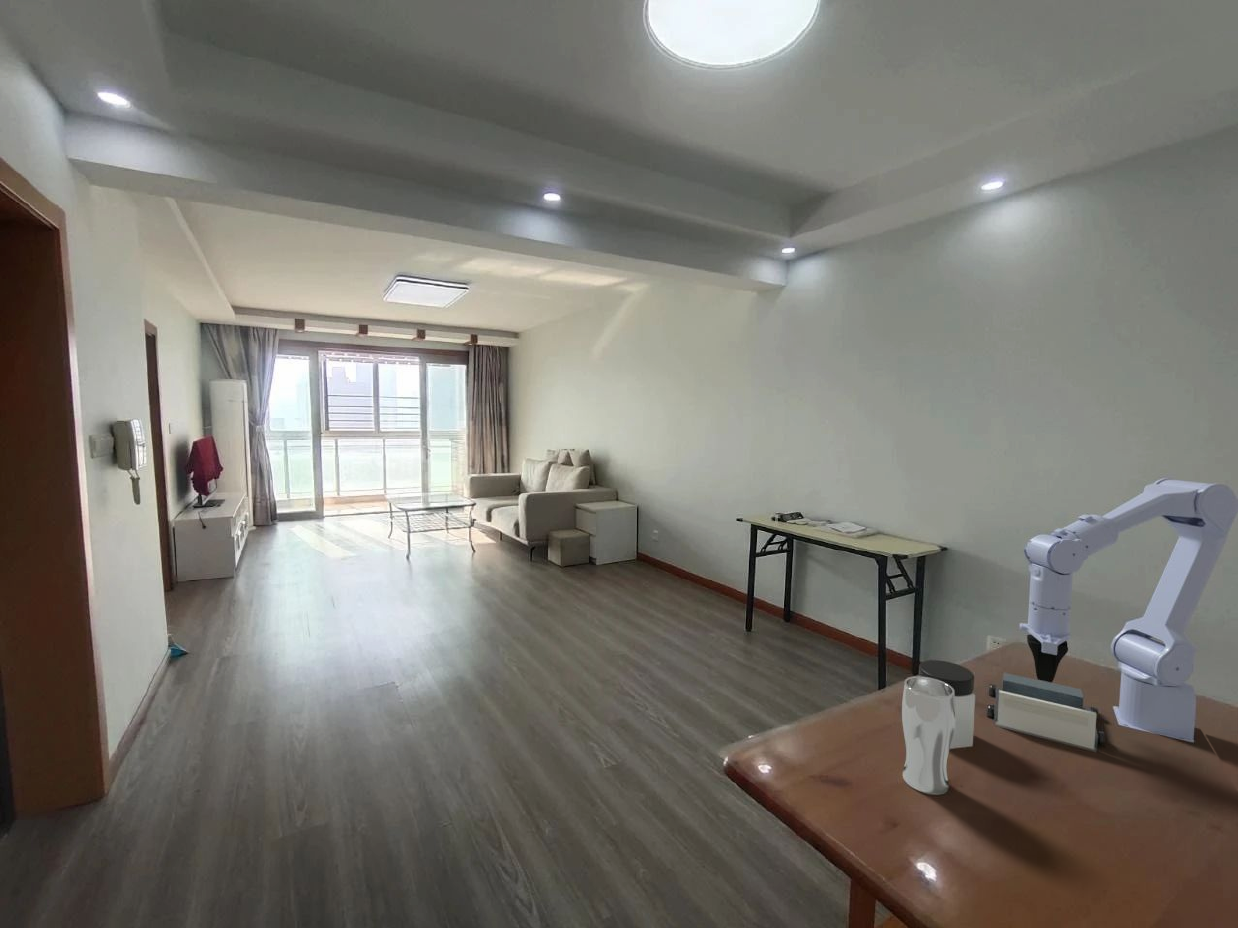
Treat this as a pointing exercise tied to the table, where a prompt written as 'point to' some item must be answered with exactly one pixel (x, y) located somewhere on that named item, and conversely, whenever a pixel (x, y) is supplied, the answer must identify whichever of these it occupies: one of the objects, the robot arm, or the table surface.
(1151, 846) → the table surface
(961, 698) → the jar
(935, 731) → the beer glass
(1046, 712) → the panel
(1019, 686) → the grey piece
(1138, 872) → the table surface
